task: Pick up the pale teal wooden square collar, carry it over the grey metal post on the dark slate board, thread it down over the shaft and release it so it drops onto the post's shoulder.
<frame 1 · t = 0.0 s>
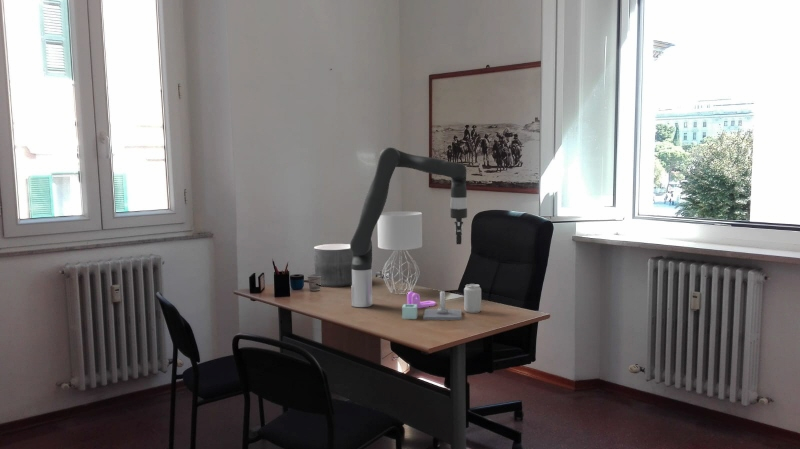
hand: (459, 242, 298), 29 cm above the table, fingers open, 8 cm apart
bracket: (422, 306, 303), on the table
can: (472, 312, 291), on the table
planter: (335, 283, 358), on the table
collar: (409, 317, 282), on the table
table lamp: (400, 292, 334), on the table
post block: (442, 315, 284), on the table
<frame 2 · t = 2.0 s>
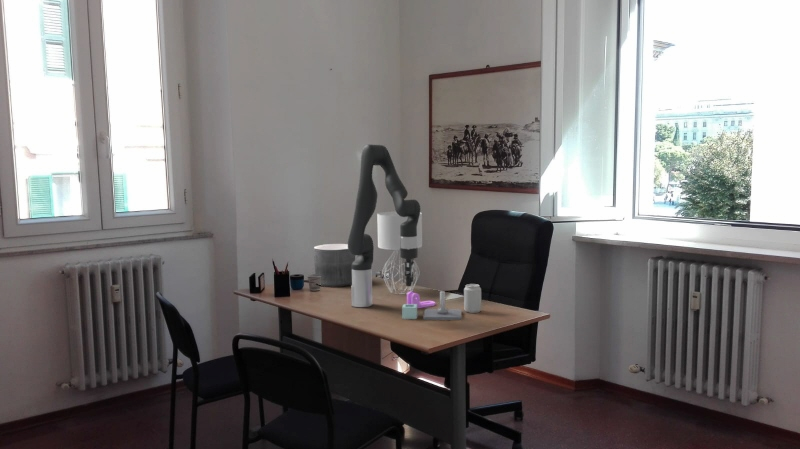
hand: (409, 284, 281), 14 cm above the table, fingers open, 8 cm apart
nothing on the table moved.
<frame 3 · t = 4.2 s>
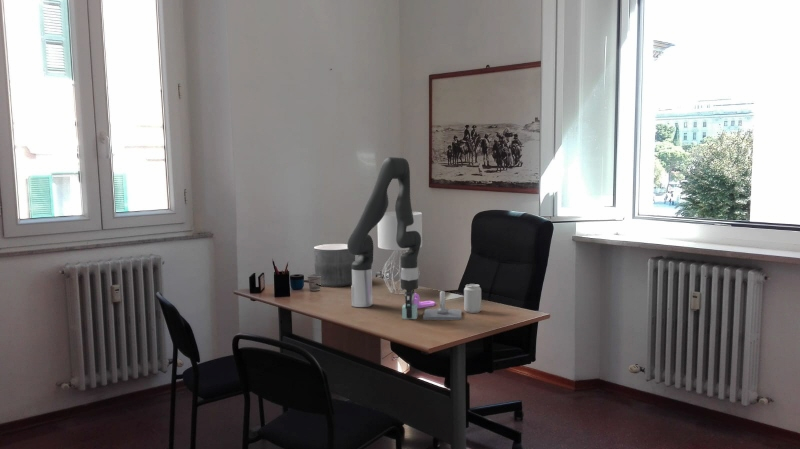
hand: (409, 315, 282), 1 cm above the table, fingers closed on collar, 6 cm apart
collar: (409, 317, 282), on the table, touching gripper
everything else where it was.
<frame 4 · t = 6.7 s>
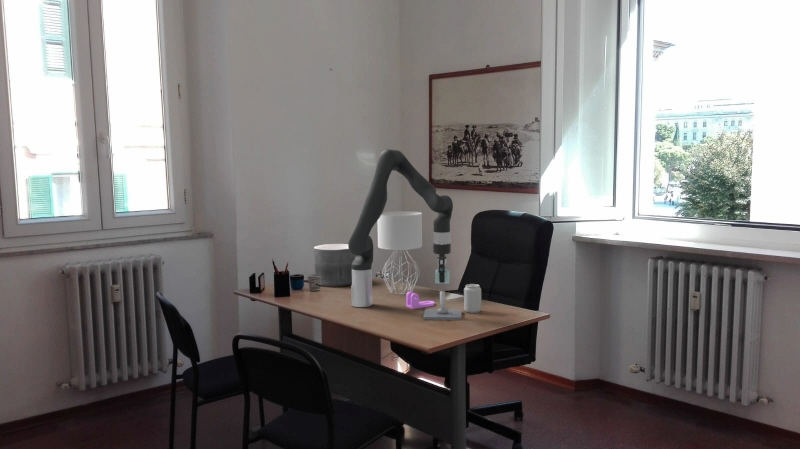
hand: (442, 280, 282), 15 cm above the table, fingers closed on collar, 6 cm apart
collar: (442, 282, 282), point 15 cm above the table, touching gripper
everything else where it was.
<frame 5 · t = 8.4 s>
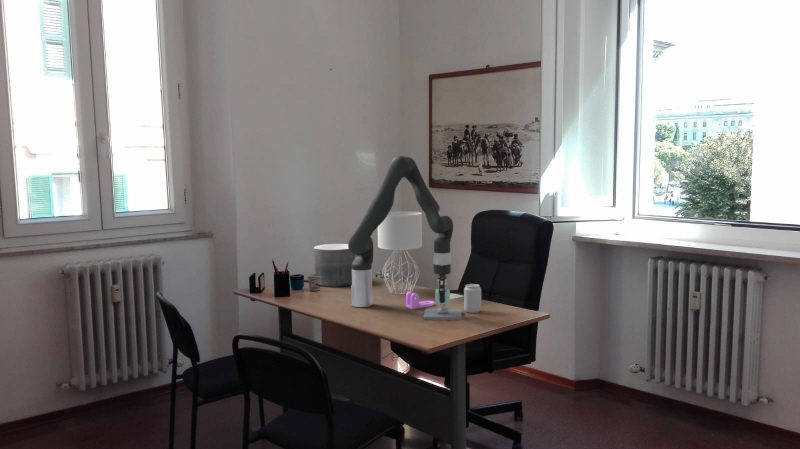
hand: (442, 300, 283), 7 cm above the table, fingers closed on collar, 6 cm apart
collar: (442, 302, 283), point 6 cm above the table, touching gripper
everything else where it was.
when the fingers open (7 cm above the table, at t = 9.5 s): collar drops 3 cm, resting on post block.
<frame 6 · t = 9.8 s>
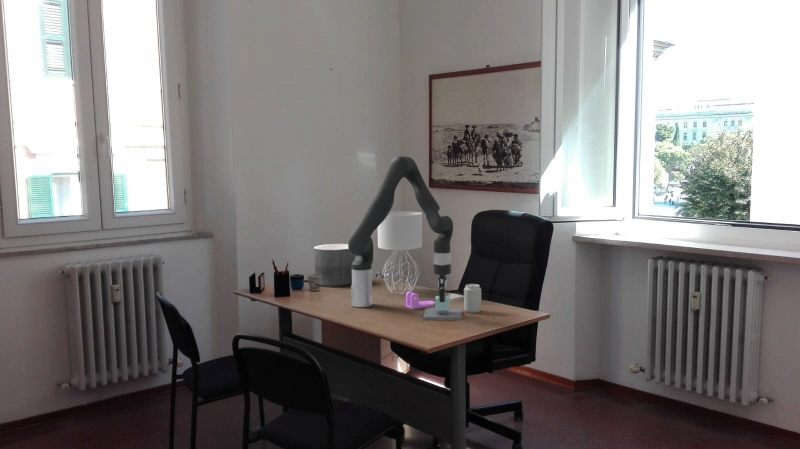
hand: (442, 299, 283), 7 cm above the table, fingers open, 8 cm apart
collar: (442, 308, 284), point 3 cm above the table, touching post block
everything else where it was.
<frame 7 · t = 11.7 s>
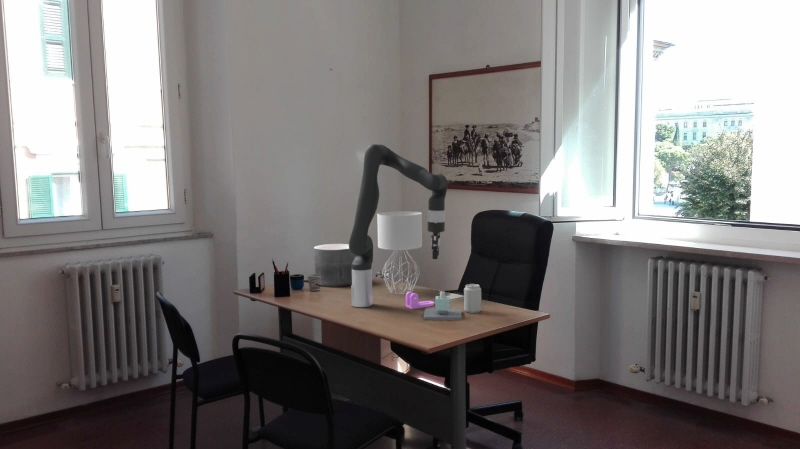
hand: (435, 257, 286), 25 cm above the table, fingers open, 8 cm apart
nothing on the table moved.
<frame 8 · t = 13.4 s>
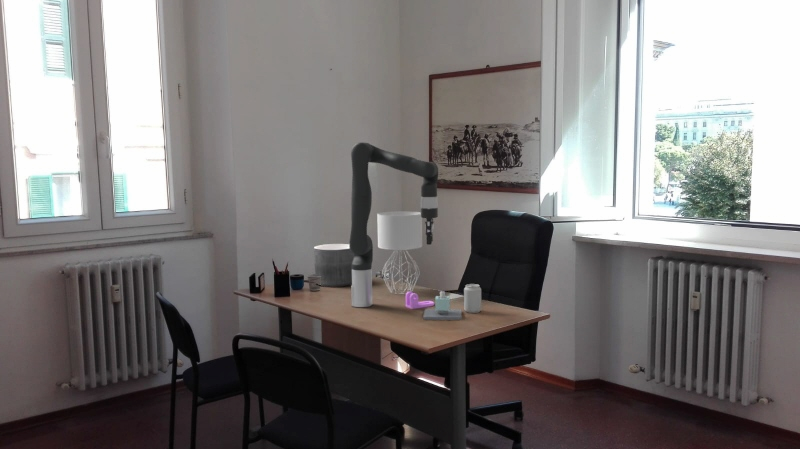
hand: (429, 243, 293), 30 cm above the table, fingers open, 8 cm apart
nothing on the table moved.
at the end: collar 0.1 cm off-centre on the post block, point 3.0 cm above the post block's base; the gripper is holding nothing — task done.
